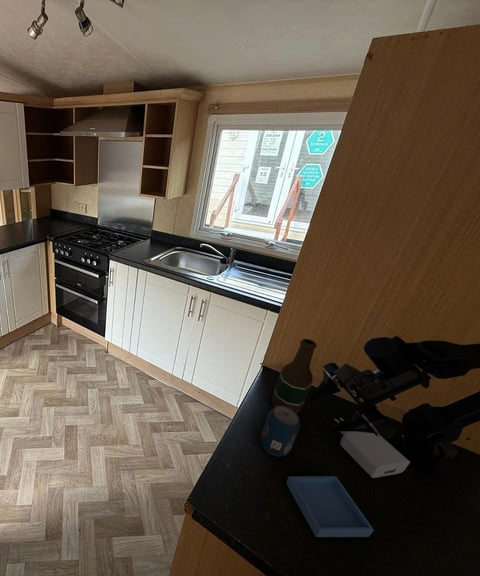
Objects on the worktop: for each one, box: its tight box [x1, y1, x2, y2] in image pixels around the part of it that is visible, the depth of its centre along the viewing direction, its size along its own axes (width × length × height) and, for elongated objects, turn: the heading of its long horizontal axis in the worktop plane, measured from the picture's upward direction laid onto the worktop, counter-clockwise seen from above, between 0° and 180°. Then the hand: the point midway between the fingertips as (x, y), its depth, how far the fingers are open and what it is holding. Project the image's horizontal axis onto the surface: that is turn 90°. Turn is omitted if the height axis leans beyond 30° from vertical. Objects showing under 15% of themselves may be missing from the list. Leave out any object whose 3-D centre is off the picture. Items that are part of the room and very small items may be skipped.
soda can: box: [259, 406, 301, 458], centre depth 79 cm, size 7×7×12 cm
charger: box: [334, 417, 410, 479], centre depth 81 cm, size 5×9×15 cm
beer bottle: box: [271, 338, 317, 414], centre depth 89 cm, size 8×8×24 cm
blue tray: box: [285, 475, 375, 538], centre depth 68 cm, size 11×11×3 cm
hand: (320, 413), depth 75 cm, fingers open, 9 cm apart
